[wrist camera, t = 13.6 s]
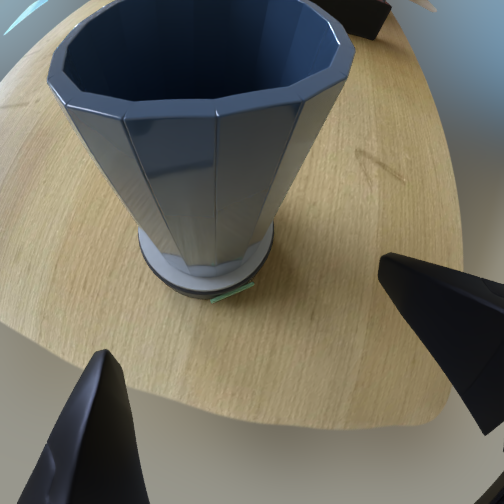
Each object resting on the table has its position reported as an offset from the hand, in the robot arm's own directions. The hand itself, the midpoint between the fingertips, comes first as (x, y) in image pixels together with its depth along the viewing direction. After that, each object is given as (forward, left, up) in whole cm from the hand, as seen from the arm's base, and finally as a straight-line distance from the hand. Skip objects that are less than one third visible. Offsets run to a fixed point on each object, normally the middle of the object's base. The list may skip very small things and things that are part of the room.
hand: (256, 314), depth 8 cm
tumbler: (+6, -1, -8) cm, 10 cm away
